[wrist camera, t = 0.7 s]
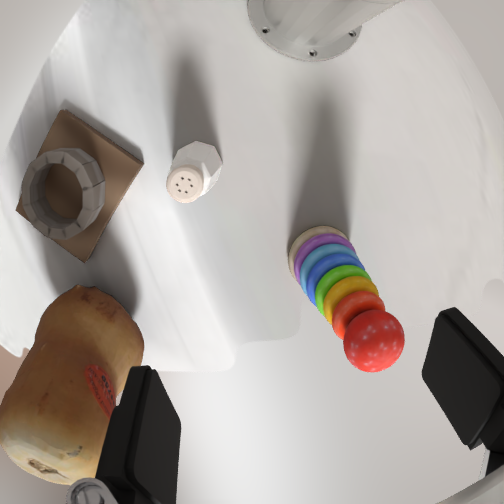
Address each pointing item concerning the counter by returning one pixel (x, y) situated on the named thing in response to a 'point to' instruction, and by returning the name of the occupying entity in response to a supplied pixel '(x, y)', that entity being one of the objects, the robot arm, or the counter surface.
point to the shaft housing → (75, 184)
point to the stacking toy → (346, 297)
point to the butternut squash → (69, 386)
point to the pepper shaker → (193, 171)
